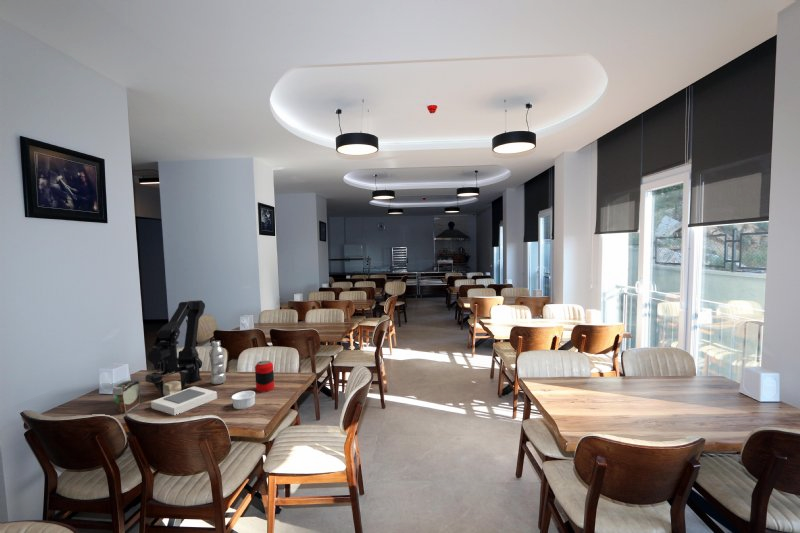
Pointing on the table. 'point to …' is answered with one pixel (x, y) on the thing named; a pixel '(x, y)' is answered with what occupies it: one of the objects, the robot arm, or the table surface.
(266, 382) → the soda can
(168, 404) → the base
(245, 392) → the ramekin
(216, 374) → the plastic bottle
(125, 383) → the food container
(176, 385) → the birch block
